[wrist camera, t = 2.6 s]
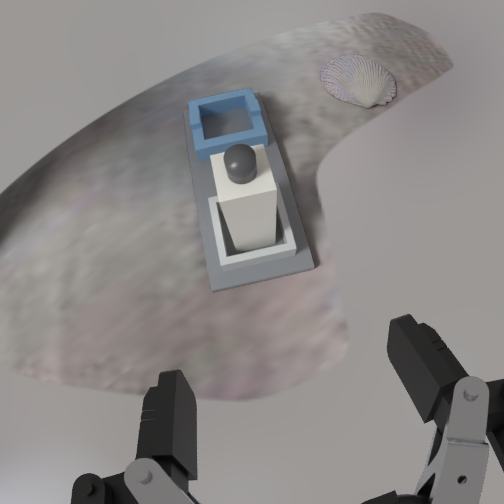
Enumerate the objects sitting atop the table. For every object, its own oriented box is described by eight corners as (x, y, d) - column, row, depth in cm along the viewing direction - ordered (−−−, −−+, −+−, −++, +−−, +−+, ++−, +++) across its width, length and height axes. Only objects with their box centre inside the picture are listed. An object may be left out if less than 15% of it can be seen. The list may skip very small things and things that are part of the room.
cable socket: (313, 269, 28) (319, 258, 24) (213, 292, 27) (204, 284, 24) (259, 97, 34) (258, 75, 30) (184, 114, 34) (176, 93, 30)
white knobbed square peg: (275, 244, 28) (277, 175, 16) (237, 252, 28) (214, 189, 16) (266, 209, 29) (262, 128, 18) (229, 217, 29) (205, 140, 17)
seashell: (328, 93, 30) (318, 31, 31) (322, 116, 35) (315, 57, 36) (414, 101, 29) (396, 40, 30) (399, 122, 35) (385, 63, 35)
